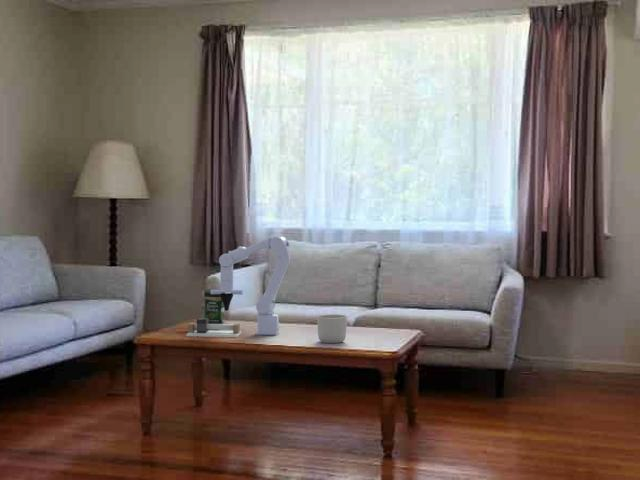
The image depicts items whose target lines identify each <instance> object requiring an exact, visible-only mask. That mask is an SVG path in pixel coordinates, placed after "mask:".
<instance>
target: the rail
mask: <svg viewBox="0 0 640 480" xmlns="http://www.w3.org/2000/svg"><path fill="white" fill-rule="evenodd" d="M187 329H188V330H187V333H186V335H185V336H186V337H197V336H198V338H199V337H200V338H204V337H206V338H207V337H209V338H216V337H217V338H237V337H239V335H241V334H242V330H241V324H240V323H233V324H232V323H231V324H230V323H225V324H206V329H209V331H207V332H206V333H203V332H197V323H196V322H190V323H188V325H187Z"/></svg>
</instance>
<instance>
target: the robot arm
mask: <svg viewBox="0 0 640 480" xmlns="http://www.w3.org/2000/svg"><path fill="white" fill-rule="evenodd" d="M266 249H267V250H268V249H269V250H270V249H271V250H272V251H273V252H274V253H275V255H276V257H277V259H278V260H277V263H276V265H275V266H274V267H275V268H274V270H273V273H272V275H271V278H269V279H270V280H269V283H268V284H267V287H266V289H265V292H264V293H263V295H262V296H261V298H260V300H259V301H258V302H257V303H256V306H255V309H256V311H257V321H256V322H257V326H256V327H257V328H256V329H257V332H255V335H259V336H261V335H267V336H268V335H269V336H271V335H272V336H276V335H278V334H279V333H280V332H279V331H280V329H279V328H280V326H279V324H280V323H279V321H280V319H279V314H277V313H276V314H275V313H274V310H275V306H276V304H275V302H276V299H277V293H278V291H279V289H280V286H281V284H282V281H283V279H284V277H285V274H286V272H287V269H288V267H289V264H290V262H291V259H292V257H291V256H292V255H291V250H290V242H289V241H288V239H287V238H286V237H284V235H283V236H282V235H280V236H273V237H272V238H271V237H269V238H267V239H264V240H261V241H259V242H257V243H255V244H253V245H250V246H248V247H246V246H238V247H237V248H236V249H234V250H228V253H223V254H222V255H220V256H219V258H218V262H219V265H220V273H219V274H220V276H219V277H220V278H219V279H220V287H219V289H220V290H211V294H221V295H220V297H221V299H222V301H223V304H224V312H225V311H227V312H228V311H229V309H230V305H231V301H232V299H233V297H234V295H238V296H239V295H241V296H243V295H244V290H243V289H234V265H235V264H237V263H240V262H242V261H245V260H247V259H248V258H249V257H250V255H251V254H255V253H257V252H259V251H262V250H266ZM223 292H225V293H223Z"/></svg>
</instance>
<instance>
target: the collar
mask: <svg viewBox="0 0 640 480" xmlns="http://www.w3.org/2000/svg"><path fill="white" fill-rule="evenodd" d="M196 324H197V329H196V330H197V332H203V333H206V332H207V331H209V330H210V329H206V324H209V318H204V317H199V318H197V319H196Z"/></svg>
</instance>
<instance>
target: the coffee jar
mask: <svg viewBox="0 0 640 480" xmlns="http://www.w3.org/2000/svg"><path fill="white" fill-rule="evenodd" d="M211 290H220V288H207V289H205V290H204V294H203V299H204V304H205V305H204V307H205V308H204V317H203V318H209V324H226V320H225V308H224V304H223V301H222V299H221V297H220V295H221V294H211ZM223 293H226V292H223Z"/></svg>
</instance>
